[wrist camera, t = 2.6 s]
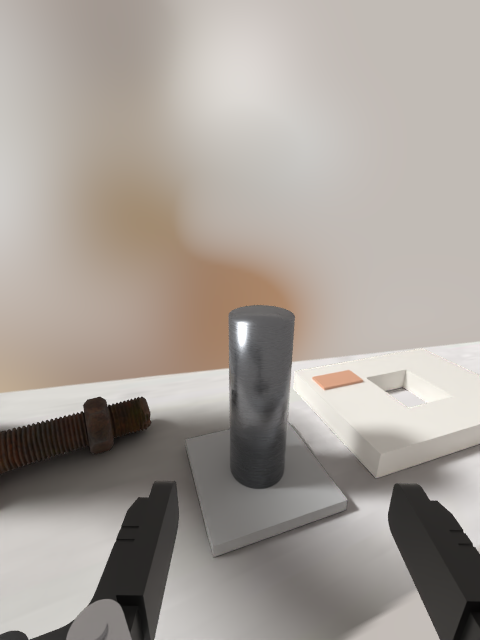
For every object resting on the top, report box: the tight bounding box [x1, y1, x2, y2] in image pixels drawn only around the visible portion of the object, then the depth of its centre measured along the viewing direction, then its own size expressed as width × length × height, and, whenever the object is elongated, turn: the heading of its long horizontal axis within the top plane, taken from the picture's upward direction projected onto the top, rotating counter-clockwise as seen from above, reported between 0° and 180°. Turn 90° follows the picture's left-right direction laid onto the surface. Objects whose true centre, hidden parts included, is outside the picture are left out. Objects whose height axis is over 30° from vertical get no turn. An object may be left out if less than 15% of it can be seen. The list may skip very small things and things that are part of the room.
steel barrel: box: [229, 305, 295, 489], centre depth 23 cm, size 4×4×13 cm
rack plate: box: [293, 348, 480, 478], centre depth 34 cm, size 20×14×3 cm
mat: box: [185, 422, 348, 557], centre depth 25 cm, size 10×10×1 cm
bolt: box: [0, 397, 151, 475], centre depth 27 cm, size 6×5×15 cm
